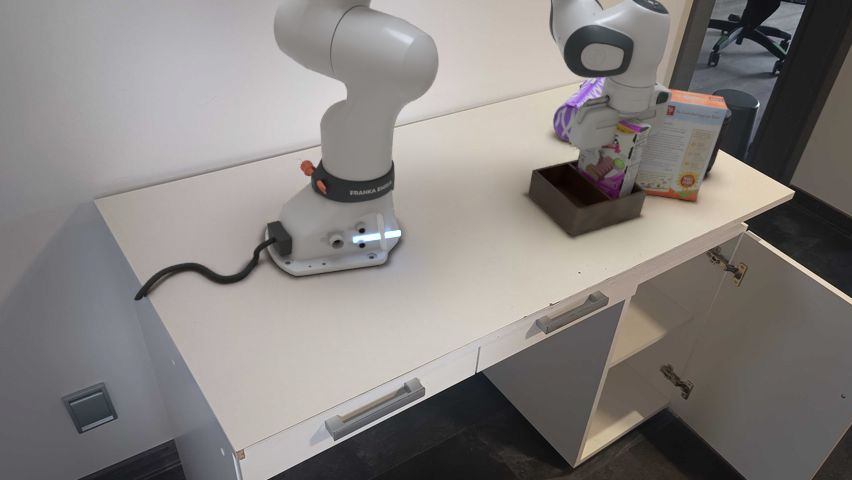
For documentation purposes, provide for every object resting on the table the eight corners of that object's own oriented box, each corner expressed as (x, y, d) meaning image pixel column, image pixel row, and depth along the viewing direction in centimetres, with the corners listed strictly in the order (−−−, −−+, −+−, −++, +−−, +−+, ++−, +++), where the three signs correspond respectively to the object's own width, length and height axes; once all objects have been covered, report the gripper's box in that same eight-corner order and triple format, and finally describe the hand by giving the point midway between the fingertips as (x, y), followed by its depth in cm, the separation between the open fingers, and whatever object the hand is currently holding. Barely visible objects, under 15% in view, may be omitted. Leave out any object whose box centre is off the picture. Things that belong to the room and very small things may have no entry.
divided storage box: (571, 236, 126) (577, 210, 123) (527, 195, 135) (532, 169, 131) (639, 216, 134) (647, 191, 130) (593, 178, 143) (599, 154, 139)
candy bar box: (570, 182, 136) (588, 106, 126) (586, 174, 139) (604, 100, 129) (615, 208, 131) (637, 132, 121) (630, 200, 134) (653, 124, 124)
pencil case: (577, 102, 170) (584, 65, 164) (612, 112, 168) (621, 76, 162) (547, 138, 154) (554, 99, 148) (586, 150, 152) (595, 111, 146)
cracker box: (692, 187, 145) (724, 95, 132) (695, 202, 141) (729, 109, 127) (627, 176, 145) (652, 83, 132) (628, 191, 141) (655, 97, 127)
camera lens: (666, 163, 152) (686, 100, 142) (697, 160, 154) (718, 99, 145) (685, 182, 146) (707, 119, 137) (716, 179, 149) (740, 117, 139)
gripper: (592, 108, 115) (576, 179, 124) (679, 92, 125) (658, 158, 133) (570, 92, 119) (556, 161, 128) (656, 77, 128) (637, 143, 137)
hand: (609, 160), depth 131 cm, fingers closed on candy bar box, 5 cm apart
